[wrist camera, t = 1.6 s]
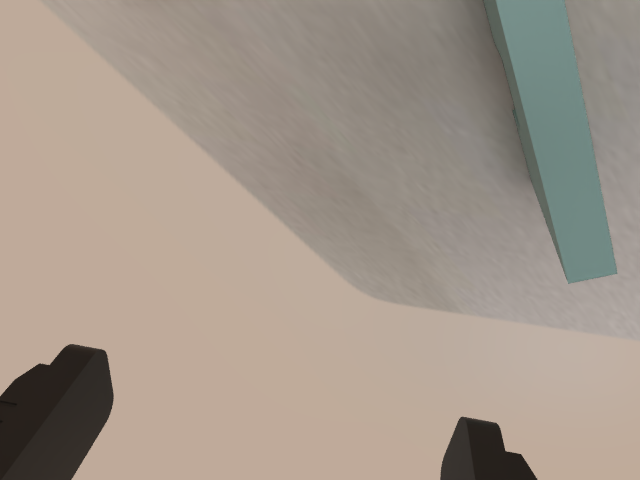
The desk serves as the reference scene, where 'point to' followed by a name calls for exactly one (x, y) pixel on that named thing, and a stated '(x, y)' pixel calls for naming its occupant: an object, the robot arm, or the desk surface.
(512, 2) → the notched plate
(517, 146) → the desk surface
